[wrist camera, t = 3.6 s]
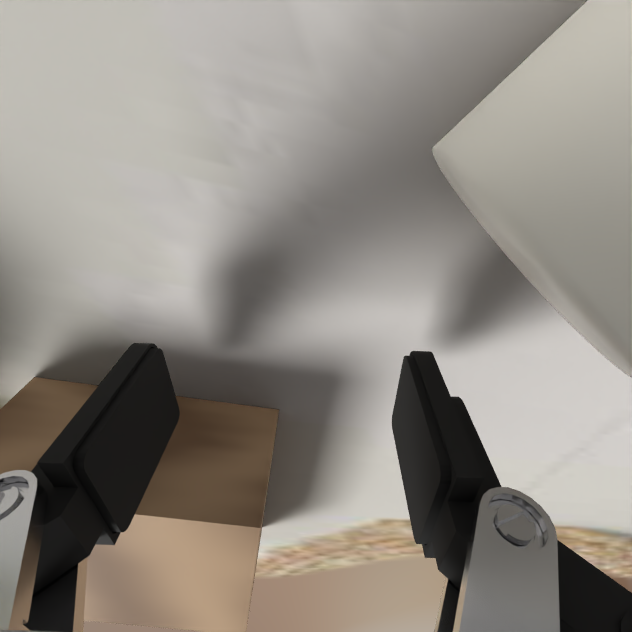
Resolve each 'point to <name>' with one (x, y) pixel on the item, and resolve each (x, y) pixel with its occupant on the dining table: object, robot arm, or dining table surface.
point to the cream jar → (561, 172)
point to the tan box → (168, 510)
